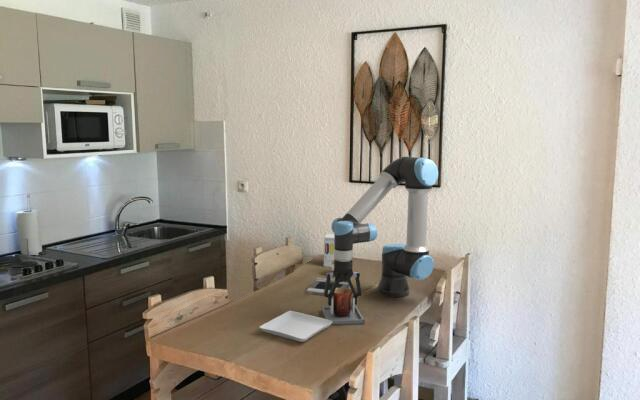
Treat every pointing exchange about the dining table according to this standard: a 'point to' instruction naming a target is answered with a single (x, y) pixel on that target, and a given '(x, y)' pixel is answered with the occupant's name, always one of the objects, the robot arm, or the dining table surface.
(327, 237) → the supplement box
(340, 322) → the rest tray
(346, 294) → the mug
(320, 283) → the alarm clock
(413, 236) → the robot arm
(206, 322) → the dining table surface
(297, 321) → the salad plate
